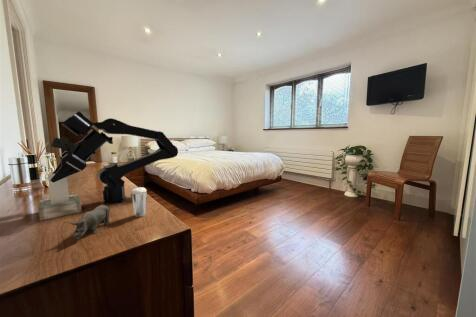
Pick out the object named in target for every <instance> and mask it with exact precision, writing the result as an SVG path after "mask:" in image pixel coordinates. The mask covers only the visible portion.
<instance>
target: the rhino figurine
mask: <svg viewBox="0 0 476 317" xmlns="http://www.w3.org/2000/svg"><path fill="white" fill-rule="evenodd" d="M110 213H111V212H110V208H109V206H107V205H105V204H100V205H98V206H96V207H95V208H94V209H93V210H90V211H86V212H85V213H84V214H83V215H82V216H80V218H79V219H78V221H75V222H72V221H71V222H70V224H71V225H73V226H76V228H75V231H74V233H73V232H72V233H70V234H71V236H72V237H74V238H75V239H77V240H80V239H82V237H83V236H84V234H86V233H91V235H96V234H98V232H99V230H98V228H97V226H98V224H99V223H100V224H103V226H108V225H110V224H111V222H110V221H109V220H110V217H109V216H110Z"/></svg>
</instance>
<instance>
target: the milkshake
mask: <svg viewBox="0 0 476 317" xmlns="http://www.w3.org/2000/svg"><path fill="white" fill-rule="evenodd" d="M127 186H128V188H129V190H130V196H131V200H132V207H133V213H134V217H136V218H141V217H145V216H146V214H147V191H148V190H147V188H145V187H143V186H142V187H141V186H138V187H134V189H133V188H132V189H131V187H130V185H127Z"/></svg>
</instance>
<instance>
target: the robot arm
mask: <svg viewBox="0 0 476 317" xmlns="http://www.w3.org/2000/svg"><path fill="white" fill-rule="evenodd" d="M61 125H62V126H63V127H65V128H66V129H68V130H69V131H70V132H72V134H74V135H76V136H77V137H78V136H79V135H81V136H83V138H82V139H81V140H80V141H76V142H75V143H74V142H71V141H69V138H68V137H66V136H62V137H59V138H58V137H54V138H53V140H52V142H51V144H50V147H53V148H55V149H57V148H58V149H61V150H64V151H63V153H61V154H60V156H59V160H60V163H59V164H58V165H57V166H56V168H55V169H54V171H53V172H52V173H51V174H55V175H54V176H53V177H52V179H51V180H50V181H51V182H56V181H58V180H61V179H63V178H65V177H67V178H68V177H70V176H73V175H74V174H77V173H79V172H82V171H83V170H84V169H85V168H87V161H88V159H89V158H91V157H92V155H95V154H97V151H99V149H100V148H101V147H102V146H103V145H104V144H106V143H108V144H110V145H113V144H114V141H113V138H114V137H113V136H108V135H127V136H132V137H133V136H134V137H135V136H136V137H140V138H145V139H150V140H154V141H155V143H156V145H157V146H158V148H157V149H156V150H155V151H154V152H152V153H148V154H146V155H143V156H141V157H138V158H135V159H133V160H130V161H127V162H124V163H121V164H118V163H116V162H112V163H110V164H108V165H103V166H102V168H100V169H99V170H98V172H97V179H98V180H99V181H100V182H101V183H103V184H105V185H104V186H103V190H102V199H103V202H102V203H103V204H102V205H105V204H117V203H118V204H119V203H123V202H124V201H125V200H126V199H127V196H126V193H125V192H126V190H125V183H126V182H125V180H123V179H122V178H124V177H125V176H126V175H127V174H130V173H131V172H135V171H136V170H139V169H141V168H143V167H145V166H148V165H151V164H154V163H156V162H158V161H162V160H168V159H172V158H176V157H177V156H178V154H179V150H178V147H177V146H176V145H174V144H173V143H172V141H171V140H170V139H169V138H168V137H167V136H166V134H165V133H164V132H163V131H160V130H159V131H158V130H153V129H148V128H144V127H139V126H134V125H130V124H128V123H125V122H123V121H120V120H118V119H116V118H110V117H109V118H105V119H104V120H103V121H99V122H97V121H94V122H92V121H91V120H90V119H89V118H87V117H86V116H85V115H84V114H83V113H82V112H81V111H77V112H75V113H74V114H73V115H72V116H69V117H68V118H67V119H66V120H64V121H63V122H62V123H61ZM97 130H99V131H101V132H99V131H97ZM90 131H91V132H90ZM88 132H89V133H88ZM86 134H87V135H86ZM84 136H85V137H84Z"/></svg>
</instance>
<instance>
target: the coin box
mask: <svg viewBox="0 0 476 317" xmlns="http://www.w3.org/2000/svg"><path fill="white" fill-rule="evenodd" d="M81 205H82V204H81V199H80V197H79V194H78V193H77V194H71V195H69V202H63V203H58V204H52V205H51V199H50V198H46V199H39V204H38V215H39V221H44V220H49V219H53V218H58V217H62V216H69V215H72V214H78V213H81V212H82V206H81Z"/></svg>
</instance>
